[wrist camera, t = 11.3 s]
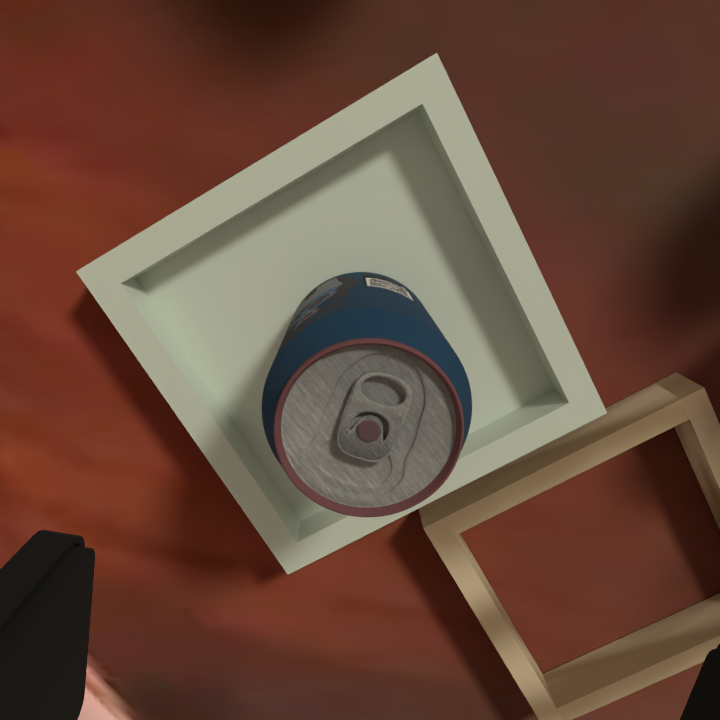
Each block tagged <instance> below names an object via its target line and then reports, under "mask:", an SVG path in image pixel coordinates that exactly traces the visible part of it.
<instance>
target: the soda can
mask: <svg viewBox="0 0 720 720" xmlns="http://www.w3.org/2000/svg"><path fill="white" fill-rule="evenodd" d="M471 417H472V395H471V389H470V384H469V380H468V377H467V374H466V372H465V369H464V367H463V365H462V363H461V361H460V359H459V357H458V356H457V354H456V353H455V351H454V350H453V348H452V347H451V345H450V344H449V342H448V341H447V339H446V338H445V336H444V335H443V334H442V332H441V331H440V329H439V328H438V326H437V325H436V323H435V322H434V320H433V319H432V317H431V316H430V314H429V313H428V312H427V310H426V309H425V307H424V306H423V304H422V303H421V301H420V300H419V299H418V298H417V297H416V295H415V294H414V293H413V292H412V291H411V290H409V289H408V288H407V287H406V286H404V285H403V284H401V283H400V282H398V281H396V280H394V279H392V278H390V277H387V276H384V275H381V274H377V273H370V272H352V273H346V274H342V275H338V276H336V277H333V278H331V279H328V280H326V281H325V282H323V283H321V284H320V285H318V286H317V287H316V288H314V289H313V290H312V291H311V292H310V293H309V294H308V295H307V296H306V297H305V298H304V299H303V300H302V302H301V303H300V305H299V306H298V308H297V310H296V311H295V313H294V316H293V318H292V320H291V322H290V325H289V327H288V329H287V332H286V334H285V336H284V338H283V341H282V343H281V345H280V348H279V350H278V352H277V354H276V357H275V359H274V361H273V364H272V366H271V368H270V370H269V373H268V375H267V378H266V381H265V385H264V389H263V395H262V421H263V427H264V431H265V435H266V438H267V441H268V443H269V446H270V448H271V450H272V452H273V454H274V456H275V457H276V459H277V461H278V462H279V463H280V465H281V466H282V467H283V469H284V471H285V473H286V474H287V476H288V477H289V479H290V480H291V481H292V483H293V484H294V485H295V486H296V487H297V488H298V489H299V490H300V491H301V492H302V493H303V494H304V495H305V496H307V497H308V498H309V499H311V500H312V501H313V502H315V503H317V504H318V505H320V506H322V507H324V508H326V509H329V510H331V511H334V512H337V513H340V514H344V515H348V516H354V517H381V516H387V515H392V514H396V513H399V512H402V511H404V510H407V509H409V508H411V507H414V506H416V505H417V504H419V503H421V502H422V501H424V500H426V499H427V498H428V497H430V496H431V495H432V494H434V493H435V492H436V491H437V490H438V489H439V488H440V487H441V486H442V485H443V484H444V482H445V481H446V480H447V479H448V477H449V476H450V474H451V472H452V471H453V469H454V467H455V465H456V463H457V461H458V458H459V455H460V452H461V450H462V448H463V446H464V444H465V441H466V438H467V436H468V432H469V428H470V424H471Z"/></svg>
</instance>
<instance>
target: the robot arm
mask: <svg viewBox="0 0 720 720" xmlns="http://www.w3.org/2000/svg"><path fill="white" fill-rule="evenodd" d="M94 564H95V552H94V550H93V549H92V548H86V547H85V543H84V539H83V537H81V536H78V535H72V534H66V533H59V532H53V531H47V530H41V531H38V532H37V533H36V534H34V535H33V537H32V538H31V539H30V540H29V541H28V542H27V543H26V544H25V545H24V546H23V547H22V548H21V549H20V550H19V551H18V552H17V553H16V554H15V555H14V556H13V557H12V558H11V559H10V560H9V561H8V562H7V563H6V564H5V565H4V566H3V567H2V568H1V569H0V720H77V719H78V717H79V714H80V711H81V708H82V704H83V700H84V693H85V680H86V667H87V654H88V641H89V629H90V616H91V603H92V590H93V577H94ZM680 720H720V644H719V645H718V646H717V648H716V649H712V650H711V651H709V653H708V654H707V656H706V658H705V661H704V663H703V666H702V668H701V670H700V673H699V675H698V677H697V680H696V682H695V685H694V687H693V689H692V692H691V694H690V697H689V699H688V701H687V704H686V706H685V709H684V711H683V713H682V716H681V718H680Z"/></svg>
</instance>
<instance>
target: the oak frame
mask: <svg viewBox="0 0 720 720" xmlns="http://www.w3.org/2000/svg"><path fill="white" fill-rule="evenodd" d="M605 409H606V411H607V413H606V414H604V415H602V416H600V417H598V418H596V419H594V420H593V421H591V422H589V423H587V424H585V425H583V426H581V427H579V428H577V429H575V430H573V431H571V432H569V433H567V434H565V435H563V436H561V437H559V438H557V439H555V440H553V441H551V442H549V443H547V444H545V445H543V446H541V447H539V448H537V449H535V450H533V451H531V452H529V453H527V454H525V455H523V456H521V457H519V458H517V459H515V460H513V461H511V462H509V463H508V464H506V465H504V466H502V467H500V468H498V469H496V470H494V471H492V472H490V473H488V474H486V475H484V476H482V477H480V478H478V479H476V480H474V481H472V482H470V483H468V484H466V485H464V486H462V487H460V488H458V489H456V490H454V491H452V492H450V493H448V494H446V495H444V496H442V497H440V498H438V499H436V500H434V501H432V502H430V503H428V504H426V505H424V506H423V507H421V508H419V513H420V517H421V521H422V526H423V529H424V531H425V532H426V534H427V536H428V537H429V539H430V541H431V542H432V544H433V546H434V547H435V549H436V550H437V552H438V554H439V555H440V557H441V559H442V560H443V562H444V564H445V565H446V567H447V569H448V570H449V572H450V574H451V575H452V577H453V579H454V580H455V582H456V584H457V585H458V587H459V588H460V590H461V592H462V593H463V595H464V597H465V598H466V600H467V602H468V603H469V605H470V607H471V608H472V610H473V612H474V613H475V615H476V617H477V618H478V620H479V622H480V623H481V625H482V626H483V628H484V630H485V631H486V633H487V635H488V636H489V638H490V640H491V641H492V643H493V645H494V646H495V648H496V650H497V651H498V653H499V655H500V656H501V658H502V660H503V661H504V663H505V664H506V666H507V668H508V669H509V671H510V673H511V674H512V676H513V678H514V679H515V681H516V683H517V684H518V686H519V688H520V689H521V691H522V693H523V694H524V696H525V697H526V699H527V701H528V702H529V704H530V706H531V707H532V709H533V711H534V712H535V714H536V716H537V717H538V719H539V720H572V719H575V718H577V717H579V716H581V715H584V714H586V713H588V712H591V711H593V710H595V709H597V708H600V707H602V706H604V705H606V704H609V703H611V702H613V701H615V700H618V699H620V698H622V697H624V696H627V695H629V694H631V693H633V692H636V691H638V690H640V689H642V688H645V687H647V686H649V685H651V684H654V683H656V682H658V681H660V680H663V679H665V678H667V677H670V676H672V675H674V674H676V673H679V672H681V671H683V670H685V669H688V668H690V667H692V666H694V665H697V664H699V663H701V662H703V661H705V658H706V656H707V654H708V653H709V651H711V650H712V649H716V648H717V646H718V645H719V644H720V593H719V594H717V595H715V596H712V597H710V598H708V599H706V600H704V601H701V602H699V603H697V604H695V605H693V606H690V607H688V608H686V609H684V610H682V611H679V612H677V613H675V614H673V615H671V616H668V617H666V618H664V619H662V620H660V621H658V622H655V623H653V624H651V625H649V626H647V627H644V628H642V629H640V630H638V631H636V632H633V633H631V634H629V635H627V636H625V637H622V638H620V639H618V640H616V641H614V642H611V643H609V644H607V645H605V646H603V647H600V648H598V649H596V650H594V651H592V652H590V653H587V654H585V655H583V656H581V657H579V658H576V659H574V660H572V661H570V662H568V663H565V664H563V665H561V666H559V667H557V668H554V669H552V670H550V671H548V672H546V673H543V674H542V673H541V671H540V669H539V668H538V666H537V664H536V662H535V661H534V659H533V657H532V656H531V654H530V652H529V651H528V649H527V647H526V645H525V644H524V642H523V640H522V639H521V637H520V635H519V634H518V632H517V630H516V628H515V627H514V625H513V623H512V622H511V620H510V618H509V616H508V615H507V613H506V611H505V610H504V608H503V606H502V605H501V603H500V601H499V599H498V598H497V596H496V594H495V593H494V591H493V589H492V587H491V586H490V584H489V582H488V581H487V579H486V577H485V576H484V574H483V572H482V570H481V569H480V567H479V565H478V564H477V562H476V560H475V559H474V557H473V555H472V553H471V552H470V550H469V548H468V547H467V545H466V543H465V541H464V540H463V538H462V536H461V535H460V533H461V532H463V531H465V530H467V529H469V528H471V527H473V526H475V525H477V524H479V523H481V522H483V521H485V520H487V519H489V518H491V517H493V516H495V515H497V514H499V513H501V512H503V511H505V510H507V509H509V508H511V507H513V506H515V505H517V504H519V503H521V502H523V501H525V500H527V499H529V498H532V497H534V496H536V495H538V494H540V493H542V492H544V491H546V490H548V489H550V488H552V487H554V486H556V485H558V484H560V483H562V482H564V481H566V480H568V479H570V478H572V477H574V476H576V475H578V474H580V473H582V472H584V471H586V470H588V469H590V468H592V467H594V466H596V465H598V464H600V463H602V462H604V461H606V460H608V459H610V458H612V457H614V456H616V455H618V454H620V453H622V452H624V451H626V450H628V449H630V448H632V447H634V446H636V445H638V444H640V443H642V442H644V441H646V440H648V439H651V438H653V437H655V436H657V435H659V434H661V433H663V432H665V431H667V430H669V429H671V428H673V427H674V428H675V430H676V432H677V434H678V437H679V439H680V441H681V443H682V446H683V448H684V450H685V452H686V455H687V457H688V459H689V462H690V464H691V466H692V468H693V471H694V473H695V475H696V477H697V480H698V482H699V484H700V486H701V489H702V491H703V493H704V496H705V498H706V500H707V502H708V505H709V507H710V509H711V511H712V514H713V516H714V518H715V520H716V523H717V525H718V527H719V530H720V424H719V422H718V419H717V417H716V414H715V412H714V410H713V407H712V405H711V402H710V400H709V398H708V395H707V393H706V390H705V388H704V387H703V386H701V385H699V384H697V383H695V382H693V381H691V380H689V379H688V378H686V377H684V376H682V375H680V374H678V373H674V374H672V375H670V376H668V377H666V378H664V379H662V380H660V381H658V382H656V383H654V384H652V385H650V386H648V387H646V388H644V389H642V390H640V391H638V392H636V393H634V394H633V395H631V396H629V397H627V398H625V399H623V400H621V401H619V402H617V403H615V404H613V405H611V406H609V407H607V408H605Z"/></svg>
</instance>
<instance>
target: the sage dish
mask: <svg viewBox="0 0 720 720" xmlns="http://www.w3.org/2000/svg"><path fill="white" fill-rule="evenodd" d="M76 272H77V274H78V275H79V276H80V278H81V279H82V281H83V282H84V284H85V285H86V286H87V288H88V289H89V291H90V292H91V294H92V295H93V296H94V298H95V299H96V301H97V302H98V304H99V305H100V306H101V308H102V309H103V311H104V312H105V314H106V315H107V317H108V318H109V319H110V321H111V322H112V324H113V325H114V327H115V328H116V329H117V331H118V332H119V334H120V335H121V337H122V338H123V339H124V341H125V342H126V344H127V345H128V347H129V348H130V349H131V351H132V352H133V354H134V355H135V357H136V358H137V359H138V361H139V362H140V364H141V365H142V367H143V368H144V369H145V371H146V372H147V374H148V375H149V377H150V378H151V380H152V381H153V382H154V384H155V385H156V387H157V388H158V390H159V391H160V392H161V394H162V395H163V397H164V398H165V400H166V401H167V402H168V404H169V405H170V407H171V408H172V410H173V411H174V412H175V414H176V415H177V417H178V418H179V420H180V421H181V422H182V424H183V425H184V427H185V428H186V430H187V431H188V432H189V434H190V435H191V437H192V438H193V440H194V441H195V442H196V444H197V445H198V447H199V448H200V450H201V451H202V453H203V454H204V455H205V457H206V458H207V460H208V461H209V463H210V464H211V465H212V467H213V468H214V470H215V471H216V473H217V474H218V475H219V477H220V478H221V480H222V481H223V483H224V484H225V485H226V487H227V488H228V490H229V491H230V493H231V494H232V495H233V497H234V498H235V500H236V501H237V503H238V504H239V505H240V507H241V508H242V510H243V511H244V513H245V514H246V516H247V517H248V518H249V520H250V521H251V523H252V524H253V526H254V527H255V528H256V530H257V531H258V533H259V534H260V536H261V537H262V538H263V540H264V541H265V543H266V544H267V546H268V547H269V548H270V550H271V551H272V553H273V554H274V556H275V557H276V558H277V560H278V561H279V563H280V564H281V566H282V567H283V568H284V570H285V571H286V573H287V574H290V573H292V572H294V571H296V570H298V569H300V568H302V567H304V566H306V565H308V564H310V563H312V562H314V561H316V560H318V559H320V558H322V557H324V556H326V555H328V554H330V553H332V552H334V551H336V550H338V549H339V548H341V547H343V546H345V545H347V544H349V543H351V542H353V541H355V540H357V539H359V538H361V537H363V536H365V535H367V534H369V533H371V532H373V531H375V530H377V529H379V528H381V527H383V526H385V525H387V524H389V523H391V522H393V521H395V520H397V519H399V518H401V517H403V516H405V515H407V514H409V513H411V512H413V511H415V510H417V509H419V508H421V507H423V506H424V505H426V504H428V503H430V502H432V501H434V500H436V499H438V498H440V497H442V496H444V495H446V494H448V493H450V492H452V491H454V490H456V489H458V488H460V487H462V486H464V485H466V484H468V483H470V482H472V481H474V480H476V479H478V478H480V477H482V476H484V475H486V474H488V473H490V472H492V471H494V470H496V469H498V468H500V467H502V466H504V465H506V464H508V463H509V462H511V461H513V460H515V459H517V458H519V457H521V456H523V455H525V454H527V453H529V452H531V451H533V450H535V449H537V448H539V447H541V446H543V445H545V444H547V443H549V442H551V441H553V440H555V439H557V438H559V437H561V436H563V435H565V434H567V433H569V432H571V431H573V430H575V429H577V428H579V427H581V426H583V425H585V424H587V423H589V422H591V421H593V420H594V419H596V418H598V417H600V416H602V415H604V414H606V413H607V411H606V409H605V407H604V405H603V403H602V401H601V399H600V397H599V395H598V392H597V390H596V388H595V386H594V384H593V382H592V380H591V378H590V375H589V373H588V371H587V369H586V367H585V365H584V363H583V361H582V359H581V356H580V354H579V352H578V350H577V348H576V346H575V344H574V342H573V340H572V337H571V335H570V333H569V331H568V329H567V327H566V325H565V323H564V320H563V318H562V316H561V314H560V312H559V310H558V308H557V306H556V304H555V301H554V299H553V297H552V295H551V293H550V291H549V289H548V287H547V285H546V282H545V280H544V278H543V276H542V274H541V272H540V270H539V268H538V265H537V263H536V261H535V259H534V257H533V255H532V253H531V251H530V249H529V246H528V244H527V242H526V240H525V238H524V236H523V234H522V232H521V230H520V227H519V225H518V223H517V221H516V219H515V217H514V215H513V213H512V210H511V208H510V206H509V204H508V202H507V200H506V198H505V196H504V194H503V191H502V189H501V187H500V185H499V183H498V181H497V179H496V177H495V175H494V172H493V170H492V168H491V166H490V164H489V162H488V160H487V158H486V155H485V153H484V151H483V149H482V147H481V145H480V143H479V141H478V139H477V136H476V134H475V132H474V130H473V128H472V126H471V124H470V122H469V120H468V117H467V115H466V113H465V111H464V109H463V107H462V105H461V103H460V100H459V98H458V96H457V94H456V92H455V90H454V88H453V86H452V84H451V81H450V79H449V77H448V75H447V73H446V71H445V69H444V67H443V65H442V62H441V60H440V58H439V56H438V54H437V53H436V54H434V55H433V56H431V57H429V58H428V59H426V60H424V61H423V62H421V63H419V64H418V65H416V66H414V67H413V68H411V69H409V70H408V71H406V72H404V73H403V74H401V75H400V76H398V77H396V78H395V79H393V80H391V81H390V82H388V83H386V84H385V85H383V86H381V87H380V88H378V89H376V90H375V91H373V92H371V93H370V94H368V95H367V96H365V97H363V98H362V99H360V100H358V101H357V102H355V103H353V104H352V105H350V106H348V107H347V108H345V109H343V110H342V111H340V112H338V113H337V114H335V115H334V116H332V117H330V118H329V119H327V120H325V121H324V122H322V123H320V124H319V125H317V126H315V127H314V128H312V129H310V130H309V131H307V132H305V133H304V134H302V135H301V136H299V137H297V138H296V139H294V140H292V141H291V142H289V143H287V144H286V145H284V146H282V147H281V148H279V149H277V150H276V151H274V152H272V153H271V154H269V155H267V156H266V157H264V158H263V159H261V160H259V161H258V162H256V163H254V164H253V165H251V166H249V167H248V168H246V169H244V170H243V171H241V172H239V173H238V174H236V175H234V176H233V177H231V178H230V179H228V180H226V181H225V182H223V183H221V184H220V185H218V186H216V187H215V188H213V189H211V190H210V191H208V192H206V193H205V194H203V195H201V196H200V197H198V198H197V199H195V200H193V201H192V202H190V203H188V204H187V205H185V206H183V207H182V208H180V209H178V210H177V211H175V212H173V213H172V214H170V215H168V216H167V217H165V218H164V219H162V220H160V221H159V222H157V223H155V224H154V225H152V226H150V227H149V228H147V229H145V230H144V231H142V232H140V233H139V234H137V235H135V236H134V237H132V238H131V239H129V240H127V241H126V242H124V243H122V244H121V245H119V246H117V247H116V248H114V249H112V250H111V251H109V252H107V253H106V254H104V255H102V256H101V257H99V258H98V259H96V260H94V261H93V262H91V263H89V264H88V265H86V266H84V267H83V268H81V269H79V270H78V271H76ZM352 272H370V273H377V274H381V275H384V276H387V277H390V278H392V279H394V280H396V281H398V282H400V283H401V284H403V285H404V286H406V287H407V288H408V289H409V290H411V291H412V292H413V293H414V294H415V295H416V297H417V298H418V299H419V300H420V301H421V303H422V304H423V306H424V307H425V309H426V310H427V312H428V313H429V314H430V316H431V317H432V319H433V320H434V322H435V323H436V325H437V326H438V328H439V329H440V331H441V332H442V334H443V335H444V336H445V338H446V339H447V341H448V342H449V344H450V345H451V347H452V348H453V350H454V351H455V353H456V354H457V356H458V357H459V359H460V361H461V363H462V365H463V367H464V369H465V372H466V374H467V377H468V380H469V384H470V389H471V395H472V417H471V424H470V428H469V432H468V436H467V438H466V441H465V444H464V446H463V448H462V450H461V452H460V455H459V458H458V461H457V463H456V465H455V467H454V469H453V471H452V472H451V474H450V476H449V477H448V479H447V480H446V481H445V482H444V484H443V485H442V486H441V487H440V488H439V489H438V490H437V491H436V492H435V493H434V494H432V495H431V496H430V497H428V498H427V499H426V500H424V501H422V502H421V503H419V504H417V505H416V506H414V507H411V508H409V509H407V510H404V511H402V512H399V513H396V514H392V515H387V516H381V517H354V516H348V515H344V514H340V513H337V512H334V511H331V510H329V509H326V508H324V507H322V506H320V505H318V504H317V503H315V502H313V501H312V500H311V499H309V498H308V497H307V496H305V495H304V494H303V493H302V492H301V491H300V490H299V489H298V488H297V487H296V486H295V485H294V484H293V483H292V481H291V480H290V479H289V477H288V476H287V474H286V473H285V471H284V469H283V467H282V466H281V465H280V463H279V462H278V461H277V459H276V457H275V456H274V454H273V452H272V450H271V448H270V446H269V443H268V441H267V438H266V435H265V431H264V427H263V421H262V395H263V389H264V385H265V381H266V378H267V375H268V373H269V370H270V368H271V366H272V364H273V361H274V359H275V357H276V354H277V352H278V350H279V348H280V345H281V343H282V341H283V338H284V336H285V334H286V332H287V329H288V327H289V325H290V322H291V320H292V318H293V316H294V313H295V311H296V310H297V308H298V306H299V305H300V303H301V302H302V300H303V299H304V298H305V297H306V296H307V295H308V294H309V293H310V292H311V291H312V290H313V289H314V288H316V287H317V286H318V285H320V284H321V283H323V282H325V281H326V280H328V279H331V278H333V277H336V276H338V275H342V274H346V273H352Z"/></svg>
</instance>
